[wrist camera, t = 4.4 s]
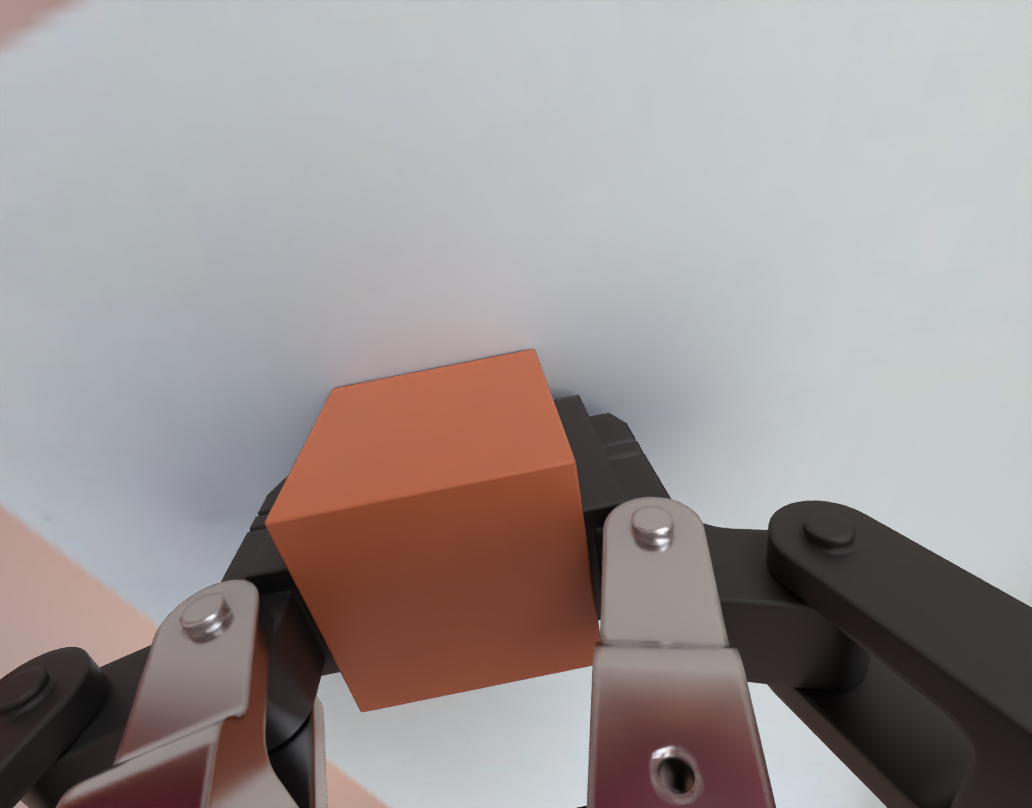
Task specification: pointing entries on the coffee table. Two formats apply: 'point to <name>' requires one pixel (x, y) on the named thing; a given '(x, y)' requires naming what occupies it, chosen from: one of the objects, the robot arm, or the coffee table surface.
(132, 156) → the coffee table surface
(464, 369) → the block
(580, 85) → the coffee table surface
